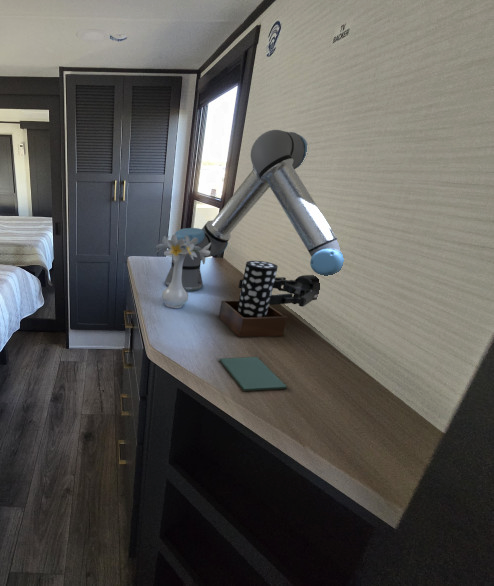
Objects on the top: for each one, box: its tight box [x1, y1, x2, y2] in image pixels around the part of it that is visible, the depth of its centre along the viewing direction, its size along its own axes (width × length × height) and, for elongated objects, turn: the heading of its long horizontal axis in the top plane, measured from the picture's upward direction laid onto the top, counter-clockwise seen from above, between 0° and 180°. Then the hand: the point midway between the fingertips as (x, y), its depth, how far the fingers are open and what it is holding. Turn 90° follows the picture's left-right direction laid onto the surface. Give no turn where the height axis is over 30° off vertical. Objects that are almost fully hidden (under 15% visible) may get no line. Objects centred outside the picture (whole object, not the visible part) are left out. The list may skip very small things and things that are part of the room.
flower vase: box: [154, 234, 211, 309], centre depth 108 cm, size 13×18×25 cm
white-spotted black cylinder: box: [237, 260, 279, 318], centre depth 94 cm, size 8×8×20 cm
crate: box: [218, 299, 288, 338], centre depth 97 cm, size 14×14×6 cm
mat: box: [219, 356, 288, 392], centre depth 74 cm, size 12×10×1 cm
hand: (254, 291), depth 93 cm, fingers open, 13 cm apart
